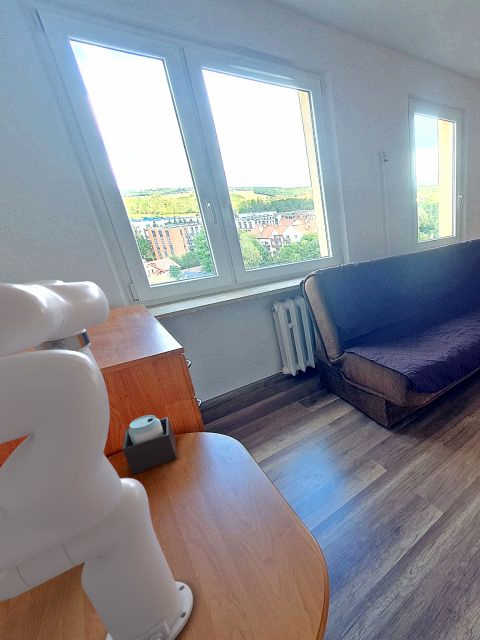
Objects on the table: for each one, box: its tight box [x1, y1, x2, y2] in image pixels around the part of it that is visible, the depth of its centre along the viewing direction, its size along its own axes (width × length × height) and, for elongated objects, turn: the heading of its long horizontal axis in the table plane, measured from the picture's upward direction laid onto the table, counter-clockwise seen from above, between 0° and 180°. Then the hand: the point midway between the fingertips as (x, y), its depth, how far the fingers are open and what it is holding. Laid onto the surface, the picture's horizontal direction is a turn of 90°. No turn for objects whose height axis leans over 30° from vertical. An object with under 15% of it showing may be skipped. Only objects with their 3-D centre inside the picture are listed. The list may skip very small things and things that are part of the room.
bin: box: [122, 416, 178, 475], centre depth 97 cm, size 10×10×9 cm
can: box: [128, 414, 165, 445], centre depth 96 cm, size 7×7×12 cm
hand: (93, 414), depth 72 cm, fingers open, 9 cm apart
